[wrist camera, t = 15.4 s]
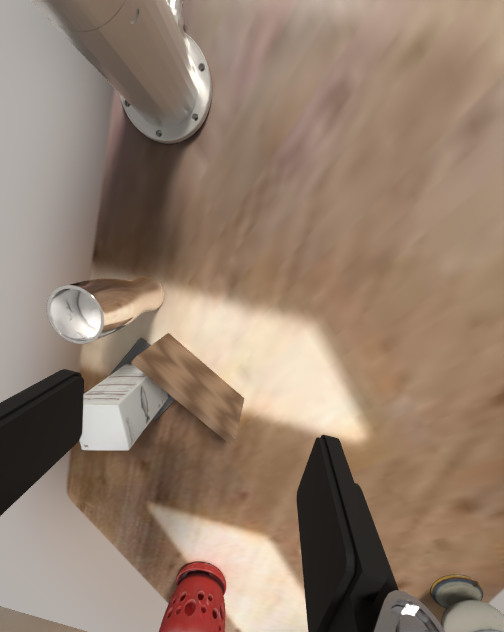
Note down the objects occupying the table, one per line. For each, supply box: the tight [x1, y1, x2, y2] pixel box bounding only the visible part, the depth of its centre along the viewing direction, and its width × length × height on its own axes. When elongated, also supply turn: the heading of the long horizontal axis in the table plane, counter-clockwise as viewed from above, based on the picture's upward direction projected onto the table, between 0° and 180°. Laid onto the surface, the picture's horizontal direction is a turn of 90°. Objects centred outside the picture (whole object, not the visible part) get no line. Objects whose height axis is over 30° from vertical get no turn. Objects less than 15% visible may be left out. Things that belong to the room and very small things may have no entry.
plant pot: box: [159, 562, 226, 632], centre depth 51 cm, size 13×13×12 cm
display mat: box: [110, 338, 175, 421], centre depth 44 cm, size 12×12×1 cm
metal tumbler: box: [47, 275, 164, 344], centre depth 33 cm, size 7×7×15 cm
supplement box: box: [79, 364, 168, 450], centre depth 38 cm, size 7×7×13 cm
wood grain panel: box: [131, 333, 244, 444], centre depth 38 cm, size 18×1×10 cm, turn 47°
